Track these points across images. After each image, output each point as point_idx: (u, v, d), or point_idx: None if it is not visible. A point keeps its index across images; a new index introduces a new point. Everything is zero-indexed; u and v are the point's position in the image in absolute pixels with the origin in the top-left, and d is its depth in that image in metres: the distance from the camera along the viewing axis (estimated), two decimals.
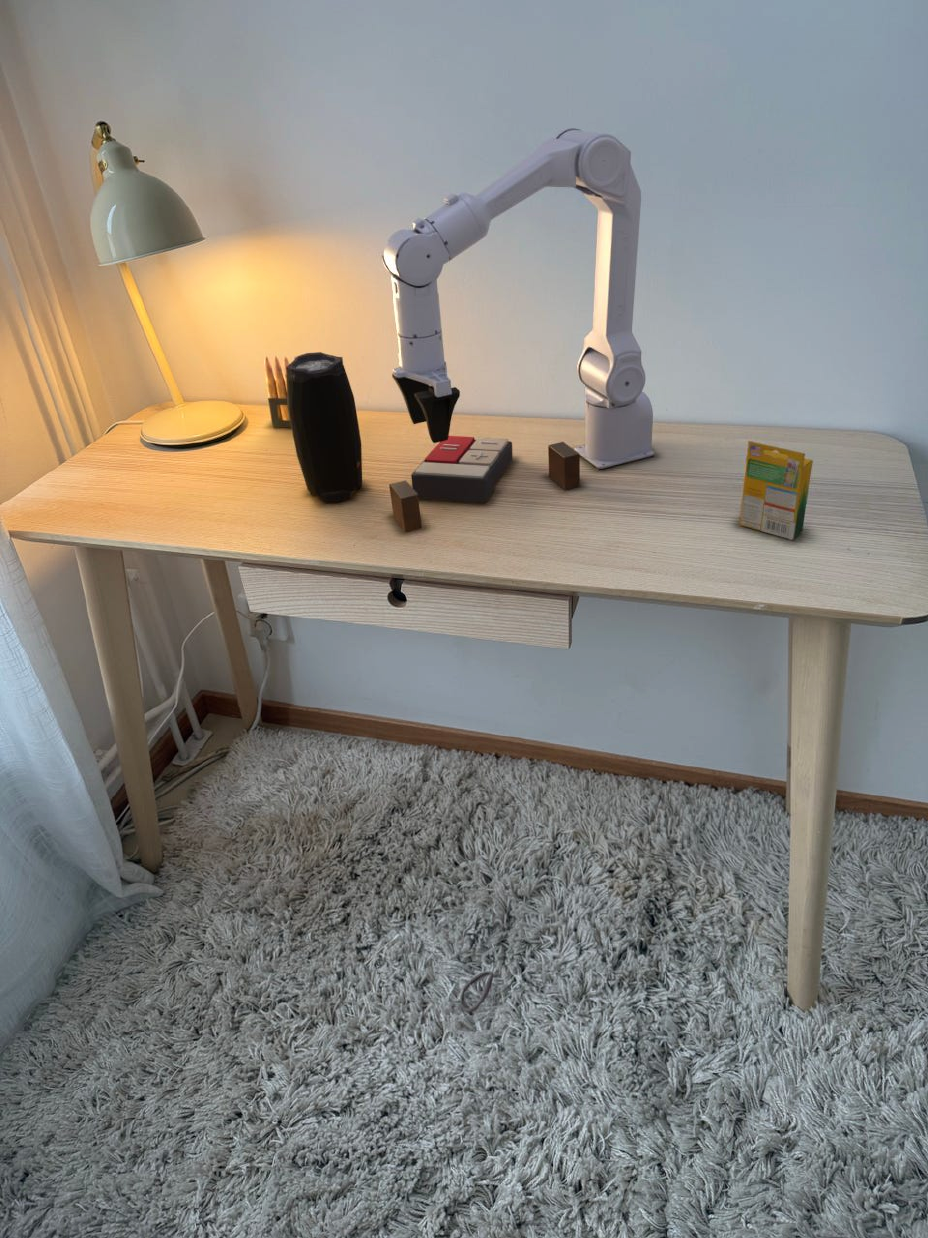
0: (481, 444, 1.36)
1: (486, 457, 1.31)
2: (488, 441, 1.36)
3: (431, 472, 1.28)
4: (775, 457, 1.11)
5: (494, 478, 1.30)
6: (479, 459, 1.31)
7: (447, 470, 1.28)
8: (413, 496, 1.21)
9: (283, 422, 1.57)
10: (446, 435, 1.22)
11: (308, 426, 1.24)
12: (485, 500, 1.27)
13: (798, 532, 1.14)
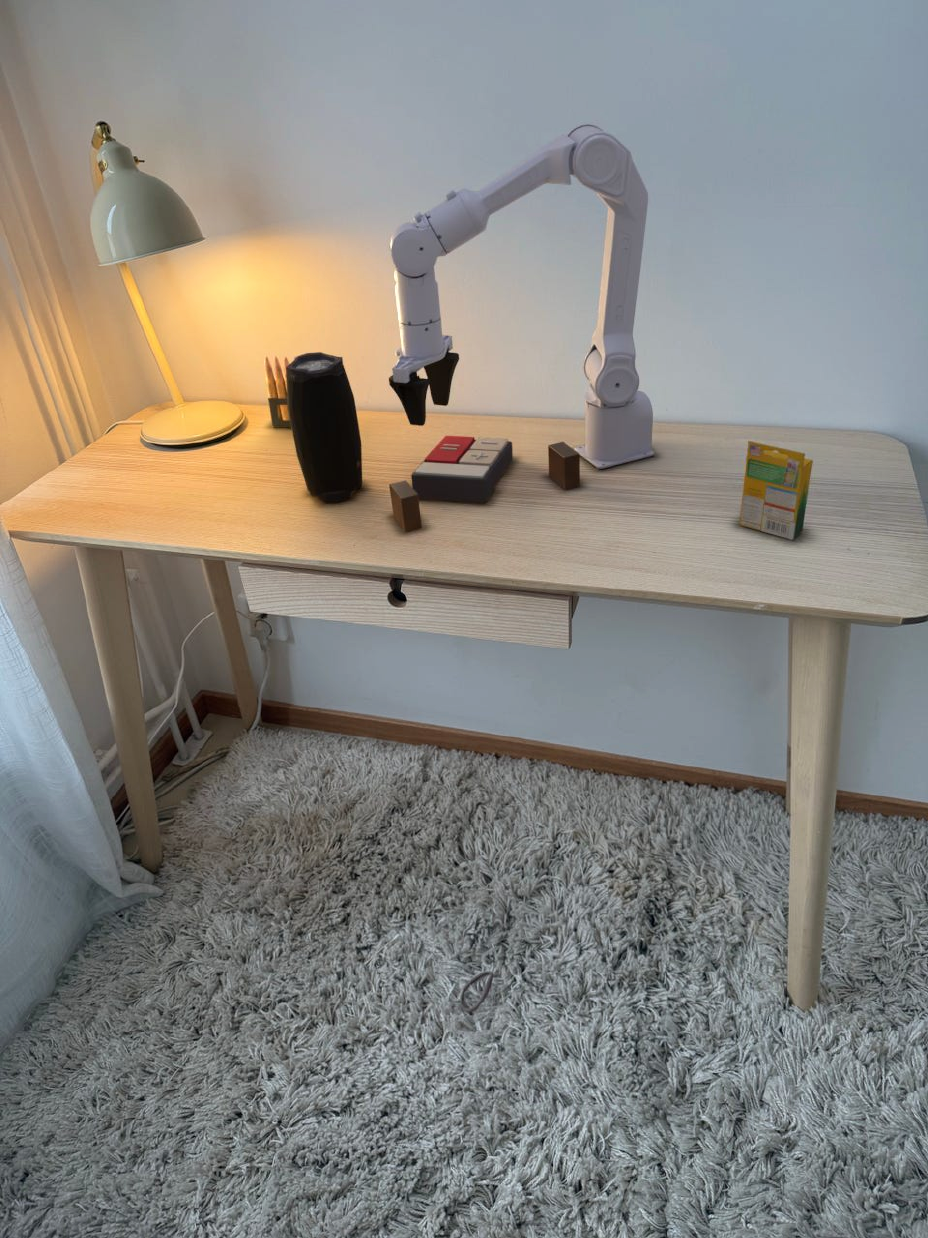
0: (481, 444, 1.36)
1: (486, 457, 1.31)
2: (488, 441, 1.36)
3: (431, 472, 1.28)
4: (775, 457, 1.11)
5: (494, 479, 1.30)
6: (479, 459, 1.31)
7: (447, 470, 1.28)
8: (413, 496, 1.21)
9: (283, 422, 1.57)
10: (420, 421, 1.28)
11: (308, 426, 1.24)
12: (485, 500, 1.27)
13: (798, 532, 1.14)
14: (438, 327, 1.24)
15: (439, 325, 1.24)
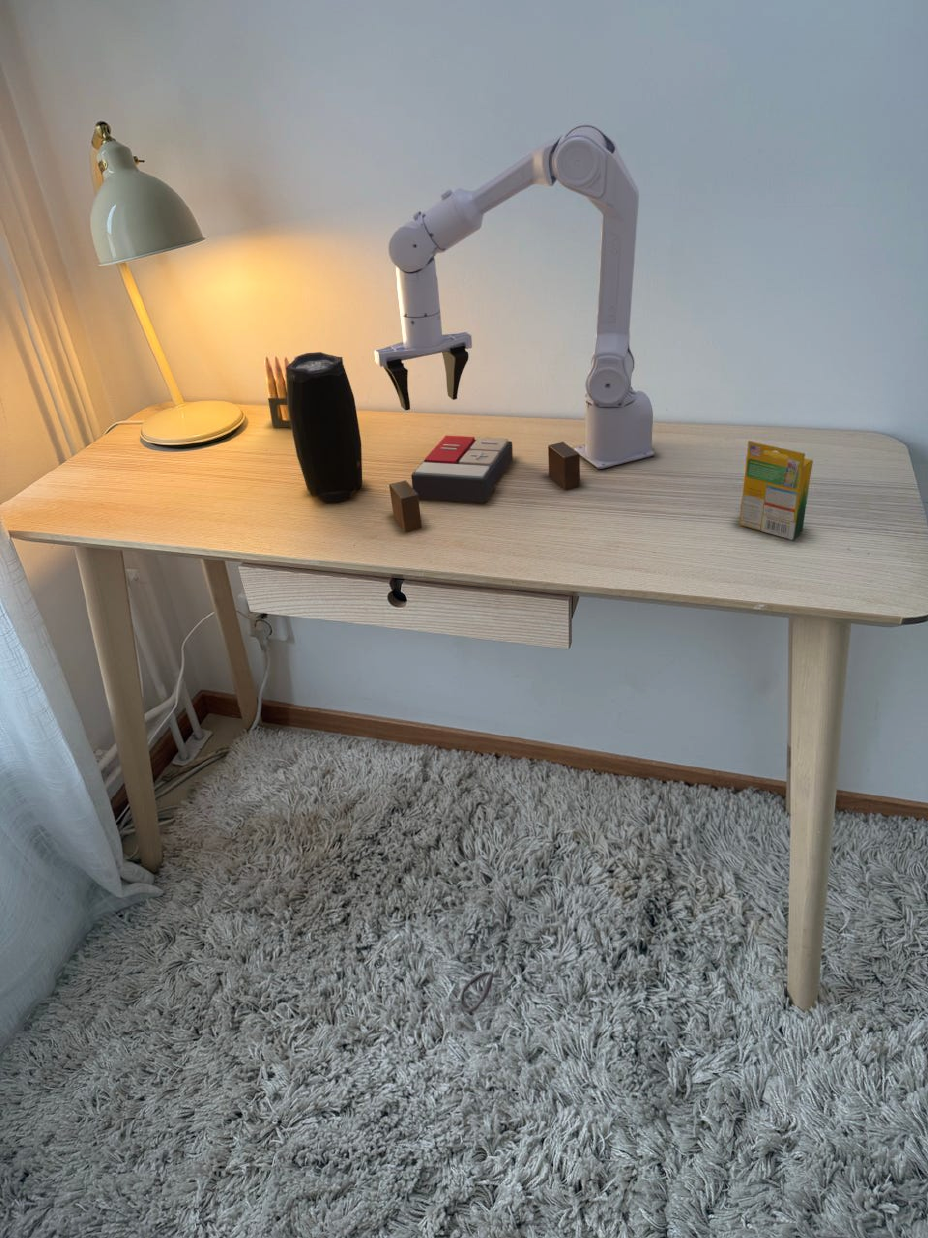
0: (481, 444, 1.36)
1: (486, 457, 1.31)
2: (488, 441, 1.36)
3: (431, 472, 1.28)
4: (775, 457, 1.11)
5: (494, 479, 1.30)
6: (479, 459, 1.31)
7: (447, 470, 1.28)
8: (413, 496, 1.21)
9: (283, 422, 1.57)
10: (404, 405, 1.37)
11: (308, 426, 1.24)
12: (485, 500, 1.27)
13: (798, 532, 1.14)
14: (427, 323, 1.30)
15: (428, 321, 1.30)
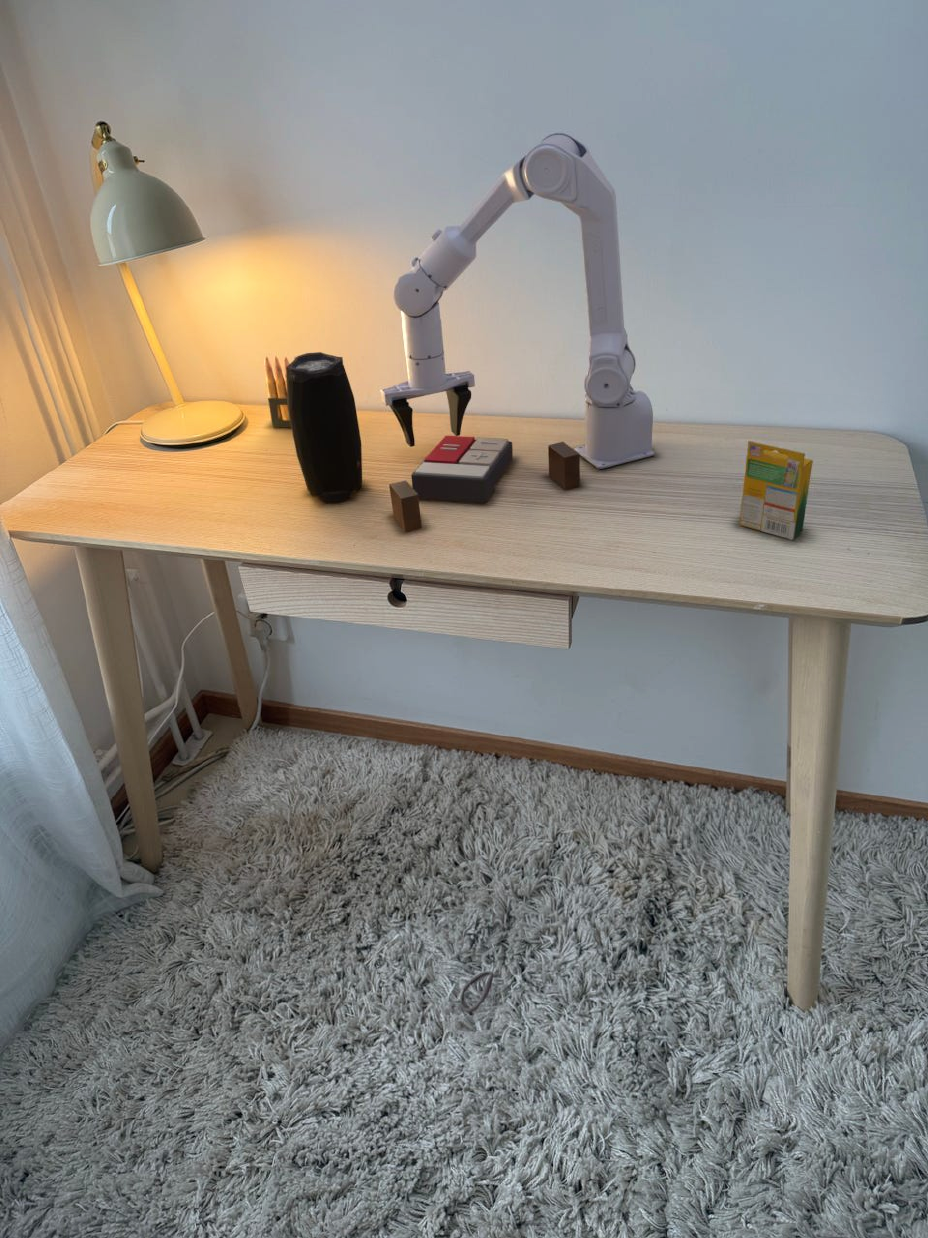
0: (481, 444, 1.36)
1: (486, 457, 1.31)
2: (488, 441, 1.36)
3: (431, 472, 1.28)
4: (775, 457, 1.11)
5: (494, 479, 1.30)
6: (479, 459, 1.31)
7: (447, 470, 1.28)
8: (413, 496, 1.21)
9: (283, 422, 1.57)
10: (409, 442, 1.42)
11: (308, 426, 1.24)
12: (485, 500, 1.27)
13: (798, 532, 1.14)
14: (431, 364, 1.34)
15: (433, 363, 1.34)
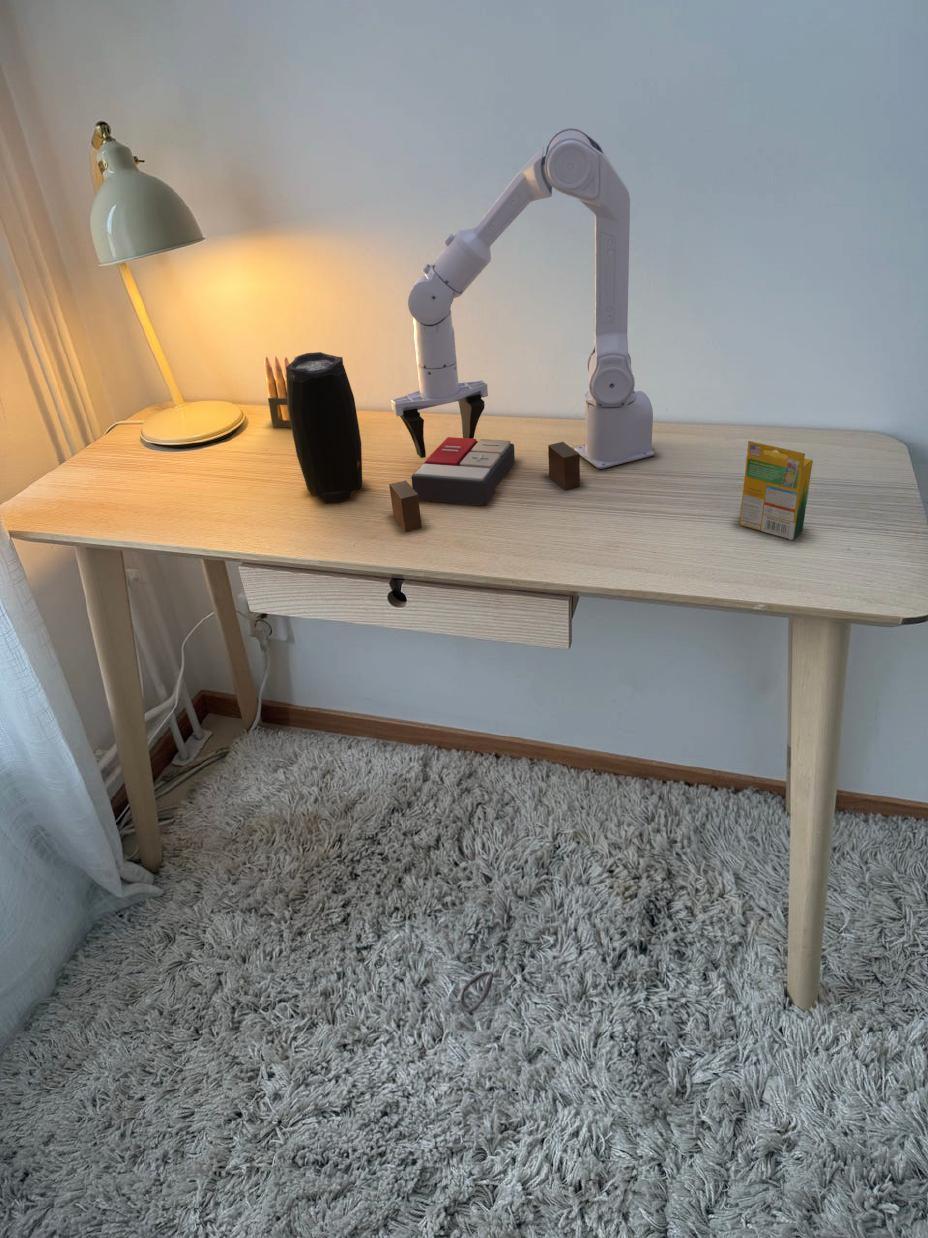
0: (483, 446, 1.35)
1: (487, 459, 1.30)
2: (490, 443, 1.36)
3: (431, 474, 1.28)
4: (775, 457, 1.11)
5: (494, 481, 1.29)
6: (480, 461, 1.30)
7: (447, 472, 1.28)
8: (413, 496, 1.21)
9: (283, 422, 1.57)
10: (420, 453, 1.38)
11: (308, 426, 1.24)
12: (485, 502, 1.27)
13: (798, 532, 1.14)
14: (443, 374, 1.31)
15: (445, 372, 1.31)
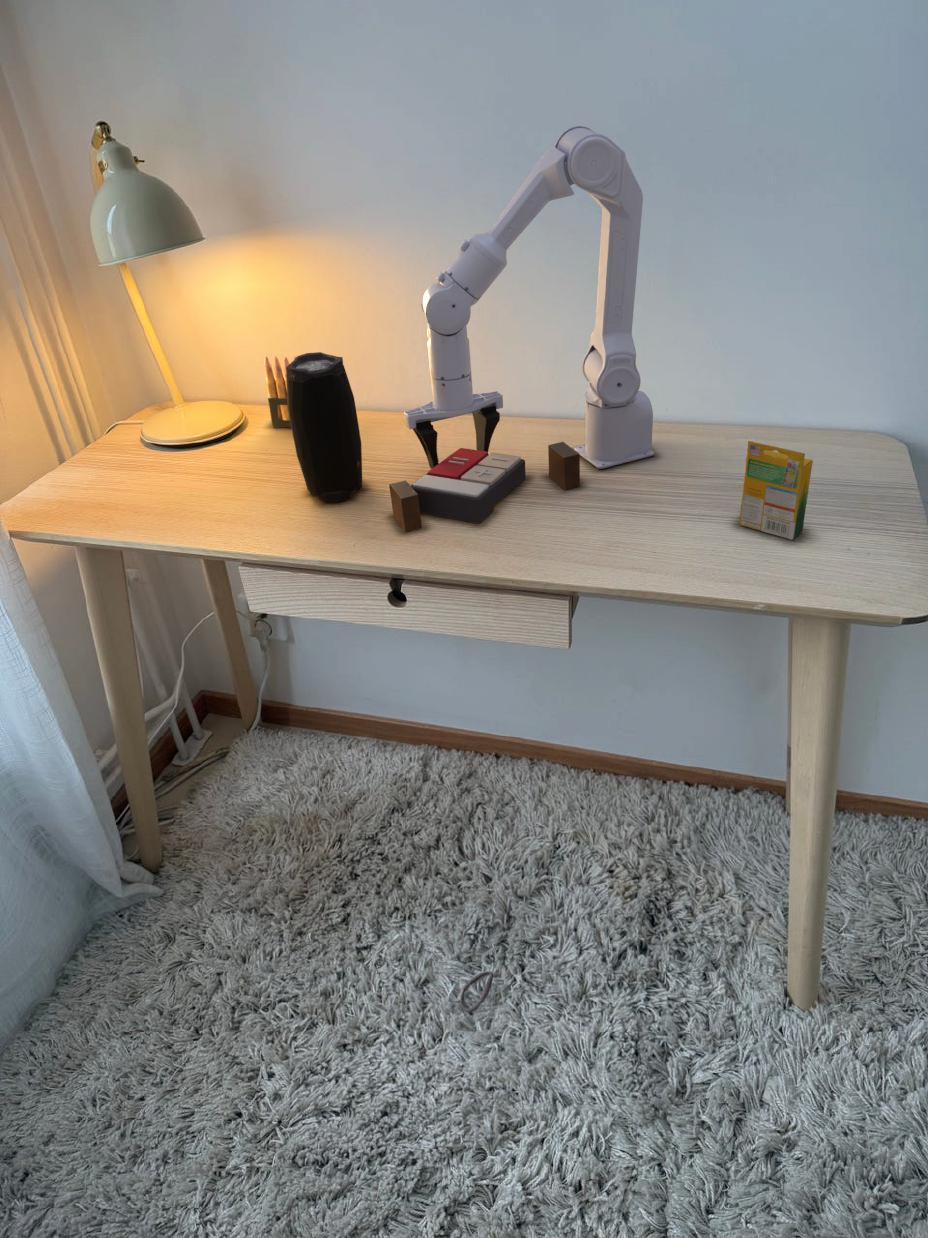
0: (491, 460, 1.31)
1: (489, 475, 1.26)
2: (499, 457, 1.31)
3: (428, 486, 1.25)
4: (775, 457, 1.11)
5: (493, 498, 1.25)
6: (481, 476, 1.26)
7: (445, 485, 1.24)
8: (413, 496, 1.21)
9: (283, 422, 1.57)
10: (433, 467, 1.33)
11: (308, 426, 1.24)
12: (479, 520, 1.23)
13: (798, 532, 1.14)
14: (458, 385, 1.26)
15: (460, 384, 1.26)
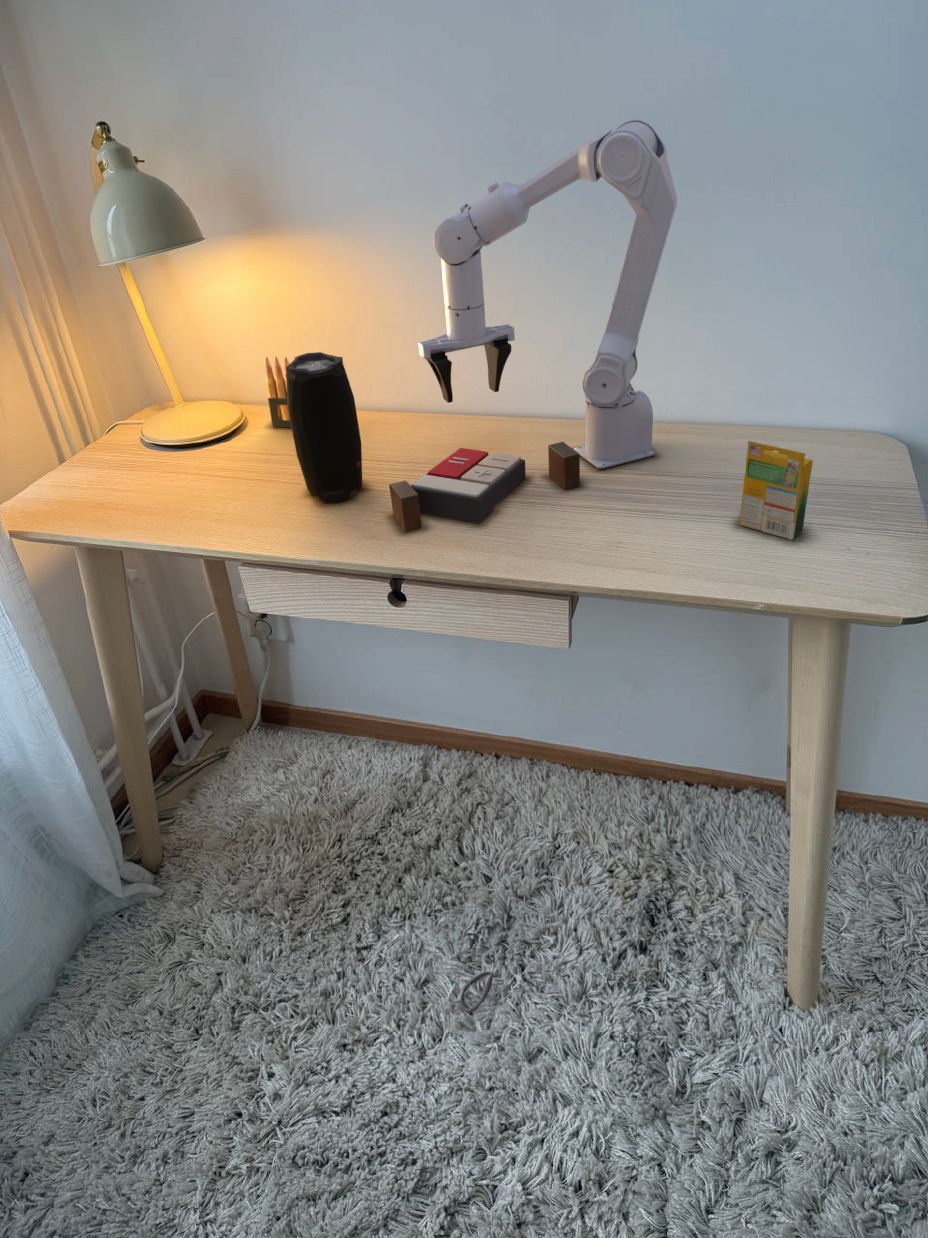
0: (491, 460, 1.31)
1: (489, 475, 1.26)
2: (499, 457, 1.31)
3: (428, 486, 1.25)
4: (775, 457, 1.11)
5: (493, 498, 1.25)
6: (481, 476, 1.26)
7: (445, 485, 1.24)
8: (413, 496, 1.21)
9: (283, 422, 1.57)
10: (447, 398, 1.37)
11: (308, 426, 1.24)
12: (479, 520, 1.23)
13: (798, 532, 1.14)
14: (471, 315, 1.30)
15: (473, 313, 1.30)
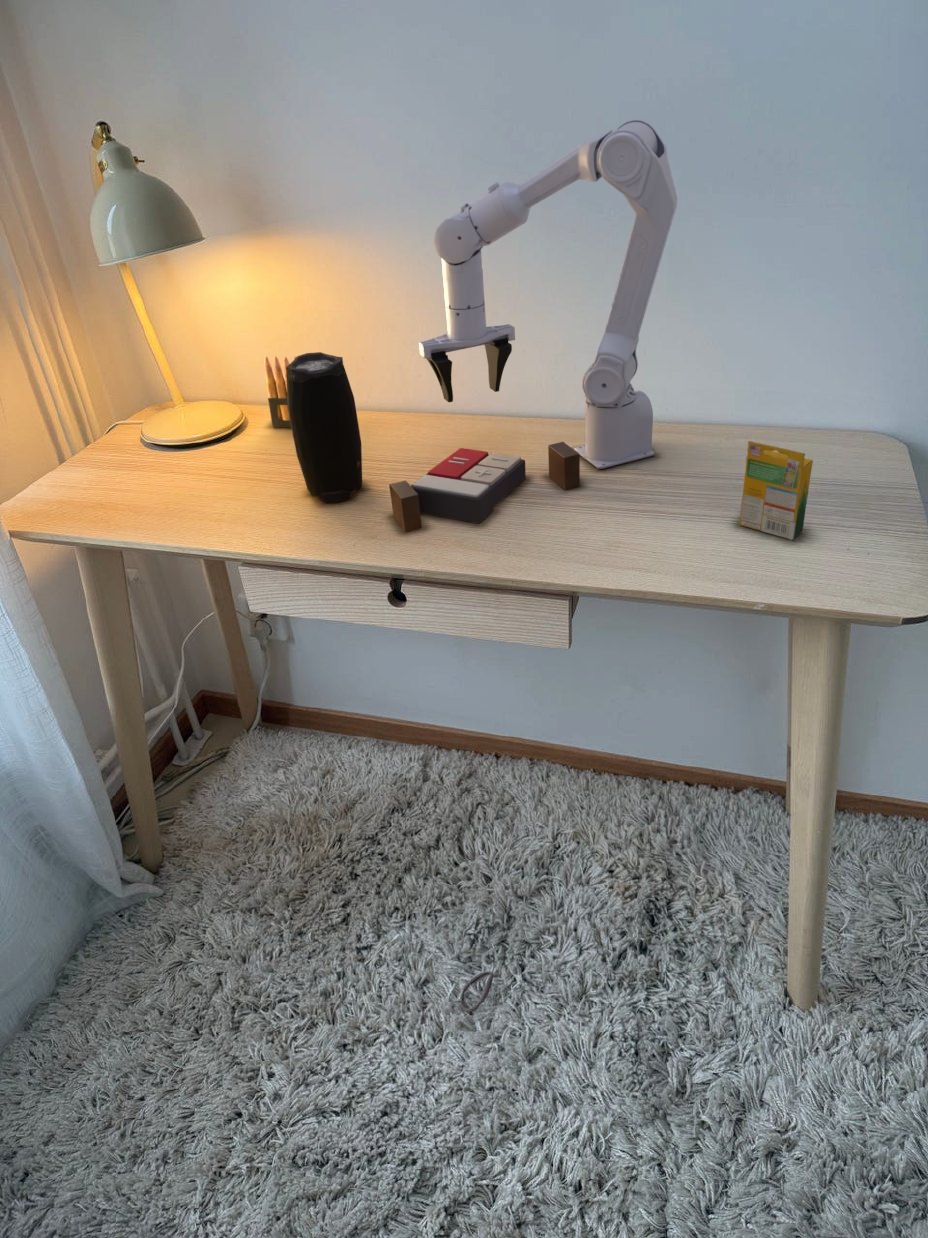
0: (491, 460, 1.31)
1: (489, 475, 1.26)
2: (499, 458, 1.31)
3: (428, 486, 1.25)
4: (775, 457, 1.11)
5: (493, 498, 1.25)
6: (481, 476, 1.26)
7: (445, 485, 1.24)
8: (413, 496, 1.21)
9: (283, 422, 1.57)
10: (447, 397, 1.38)
11: (308, 426, 1.24)
12: (479, 520, 1.23)
13: (798, 532, 1.14)
14: (472, 315, 1.30)
15: (474, 313, 1.30)
